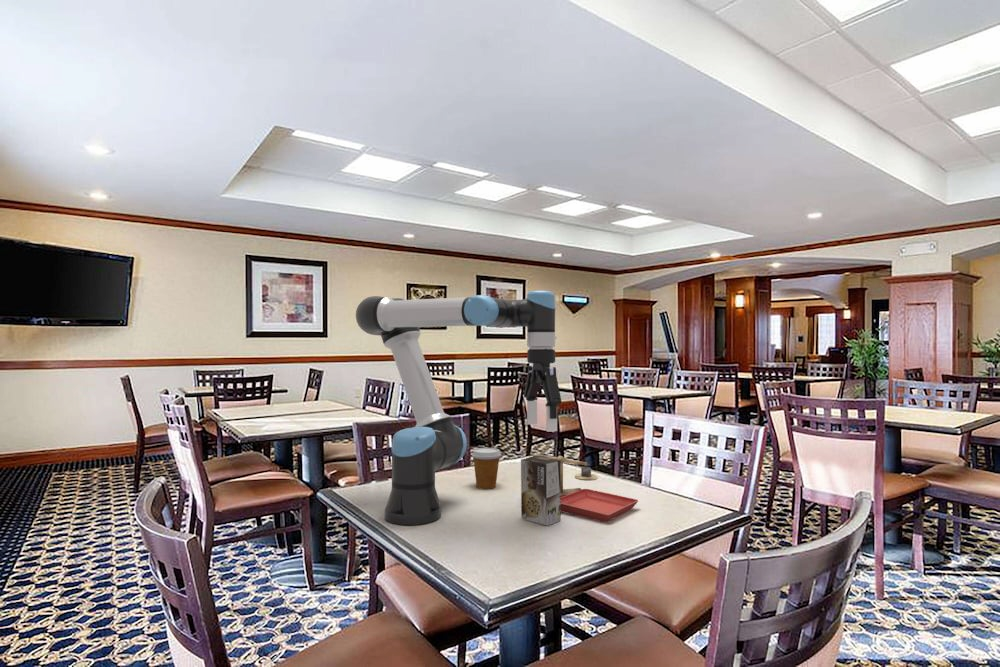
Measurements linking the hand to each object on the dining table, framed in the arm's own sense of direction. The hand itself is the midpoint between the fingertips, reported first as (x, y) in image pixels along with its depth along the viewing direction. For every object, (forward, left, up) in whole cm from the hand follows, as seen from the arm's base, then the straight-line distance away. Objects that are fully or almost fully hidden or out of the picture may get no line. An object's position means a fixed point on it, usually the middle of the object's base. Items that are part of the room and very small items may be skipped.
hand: (541, 427), depth 147 cm
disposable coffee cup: (-4, +37, -25) cm, 45 cm away
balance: (+14, +18, -25) cm, 33 cm away
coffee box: (0, 0, -25) cm, 25 cm away
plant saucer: (+18, +3, -25) cm, 31 cm away
